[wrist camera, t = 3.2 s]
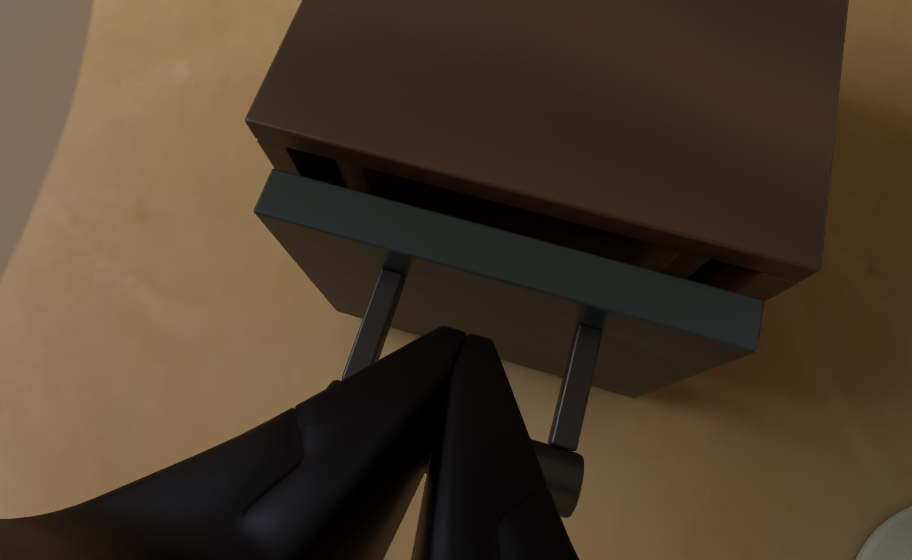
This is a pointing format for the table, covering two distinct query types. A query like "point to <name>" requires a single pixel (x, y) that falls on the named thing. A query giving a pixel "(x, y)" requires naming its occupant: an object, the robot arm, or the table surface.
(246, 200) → the table surface
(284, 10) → the table surface
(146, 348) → the table surface
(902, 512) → the can
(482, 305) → the drawer
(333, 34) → the cabinet
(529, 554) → the robot arm
